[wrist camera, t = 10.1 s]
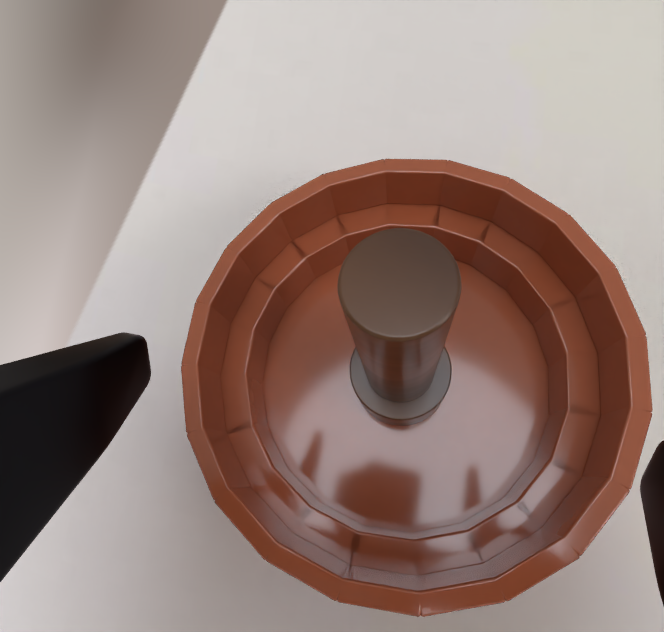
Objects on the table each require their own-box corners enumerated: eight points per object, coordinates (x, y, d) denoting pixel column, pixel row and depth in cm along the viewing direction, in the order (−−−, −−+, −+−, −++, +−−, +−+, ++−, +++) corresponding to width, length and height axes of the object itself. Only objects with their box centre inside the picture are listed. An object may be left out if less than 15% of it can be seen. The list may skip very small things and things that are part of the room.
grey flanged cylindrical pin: (405, 446, 18) (409, 414, 8) (335, 383, 19) (270, 291, 9) (465, 375, 18) (535, 269, 9) (395, 318, 19) (388, 170, 10)
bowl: (422, 672, 16) (431, 754, 11) (169, 394, 20) (99, 370, 16) (662, 366, 18) (755, 327, 13) (383, 174, 22) (379, 95, 18)
